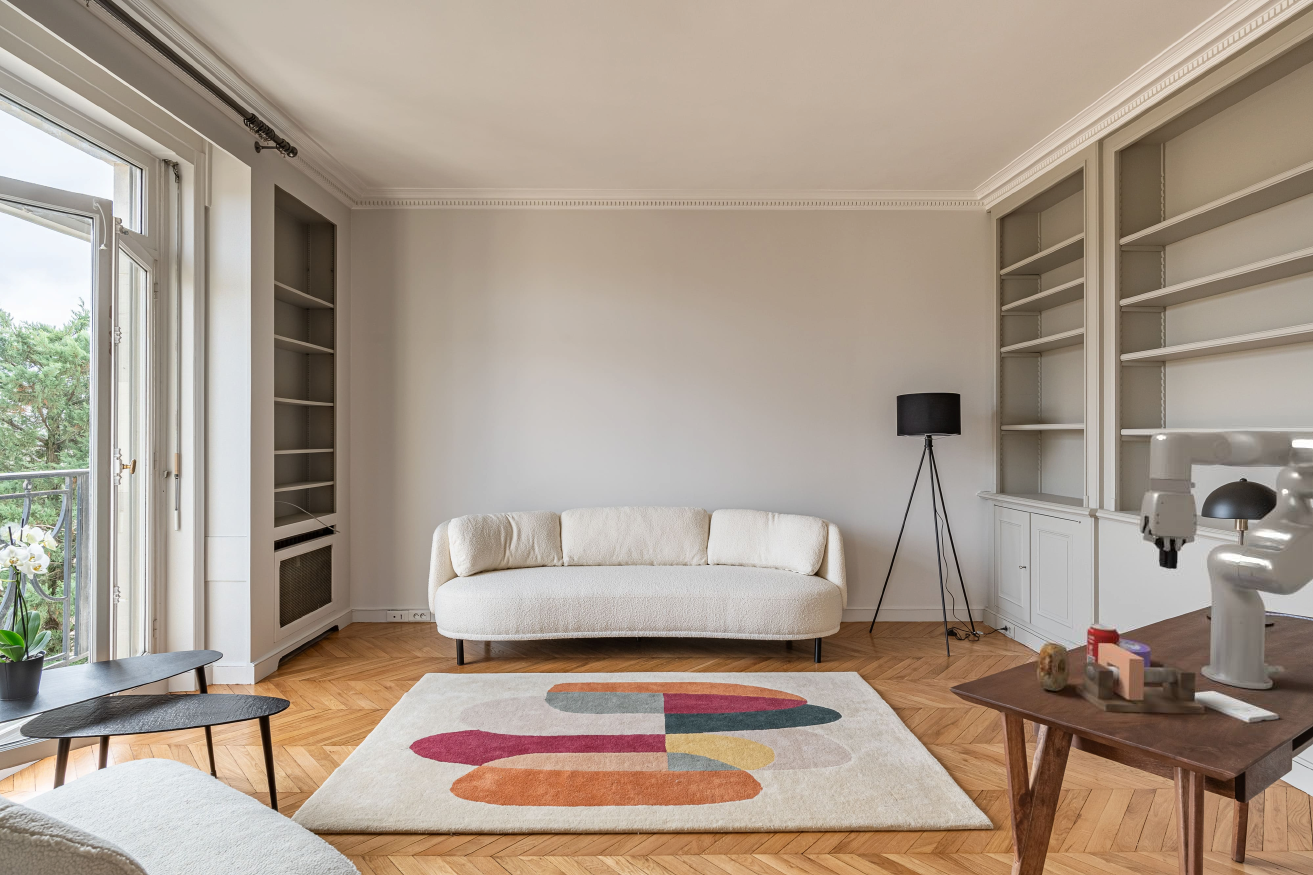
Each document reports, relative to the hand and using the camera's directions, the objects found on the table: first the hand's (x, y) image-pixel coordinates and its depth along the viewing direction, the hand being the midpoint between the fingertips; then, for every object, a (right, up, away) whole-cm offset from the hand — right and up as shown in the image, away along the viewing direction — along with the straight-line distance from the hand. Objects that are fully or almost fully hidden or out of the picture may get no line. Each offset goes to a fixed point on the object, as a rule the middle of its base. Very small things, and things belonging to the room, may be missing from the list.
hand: (1168, 567), depth 153 cm
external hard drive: (+4, -28, -12) cm, 31 cm away
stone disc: (-27, -27, -2) cm, 38 cm away
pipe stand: (-14, -27, -9) cm, 32 cm away
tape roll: (0, -27, +15) cm, 31 cm away
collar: (-17, -25, -9) cm, 31 cm away
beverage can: (-11, -27, +6) cm, 30 cm away
